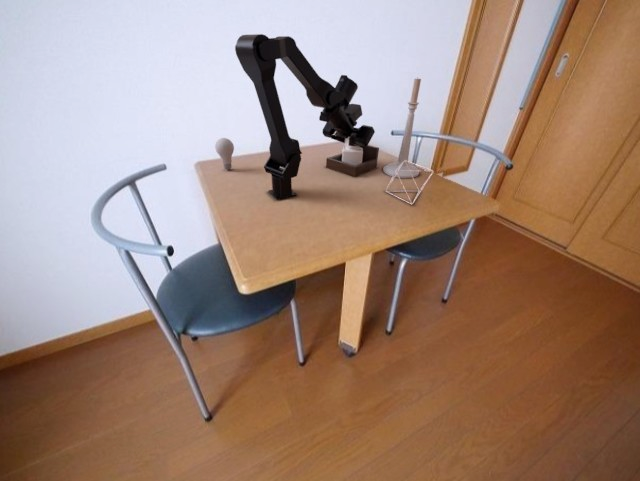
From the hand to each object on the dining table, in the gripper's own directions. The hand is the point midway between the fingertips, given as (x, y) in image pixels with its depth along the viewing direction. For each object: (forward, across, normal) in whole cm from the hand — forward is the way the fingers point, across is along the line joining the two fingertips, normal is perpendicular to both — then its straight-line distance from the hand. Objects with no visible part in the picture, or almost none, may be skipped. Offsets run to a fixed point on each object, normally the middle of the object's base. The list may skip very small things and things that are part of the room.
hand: (356, 145), depth 104 cm
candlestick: (+11, -15, +1) cm, 19 cm away
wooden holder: (+4, 0, +7) cm, 8 cm away
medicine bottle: (+4, 0, +7) cm, 8 cm away
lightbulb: (-21, +29, +30) cm, 47 cm away
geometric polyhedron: (-2, -27, +13) cm, 30 cm away
